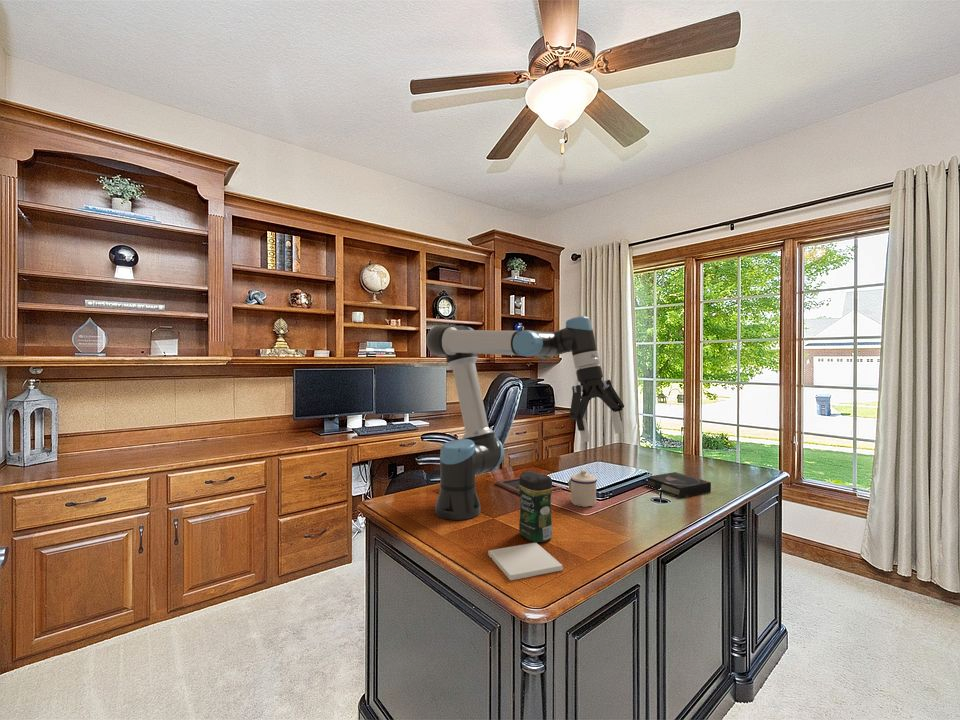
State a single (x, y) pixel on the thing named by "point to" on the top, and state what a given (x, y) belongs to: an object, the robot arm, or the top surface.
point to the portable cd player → (679, 484)
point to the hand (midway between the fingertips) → (603, 437)
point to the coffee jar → (535, 506)
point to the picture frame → (517, 484)
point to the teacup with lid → (583, 489)
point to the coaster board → (524, 561)
